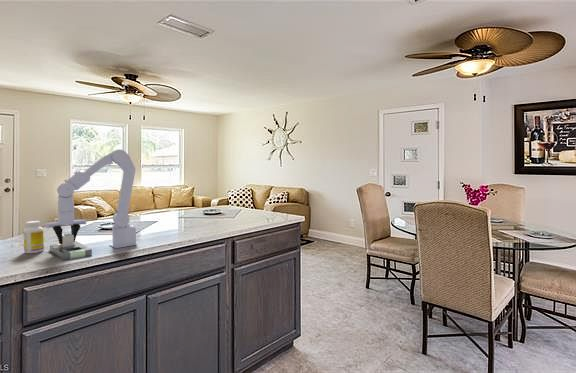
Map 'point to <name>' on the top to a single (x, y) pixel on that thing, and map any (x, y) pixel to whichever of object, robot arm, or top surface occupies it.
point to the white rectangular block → (67, 240)
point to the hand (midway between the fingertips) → (67, 242)
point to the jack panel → (71, 251)
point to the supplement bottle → (33, 237)
